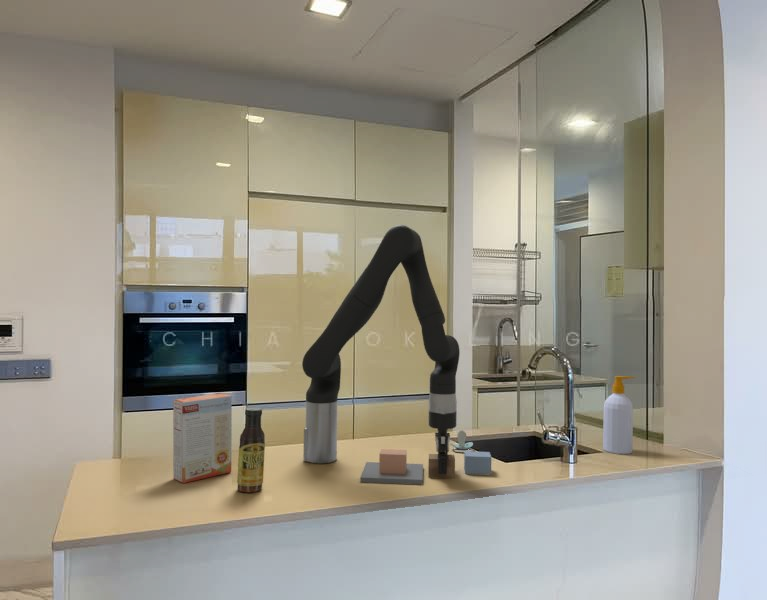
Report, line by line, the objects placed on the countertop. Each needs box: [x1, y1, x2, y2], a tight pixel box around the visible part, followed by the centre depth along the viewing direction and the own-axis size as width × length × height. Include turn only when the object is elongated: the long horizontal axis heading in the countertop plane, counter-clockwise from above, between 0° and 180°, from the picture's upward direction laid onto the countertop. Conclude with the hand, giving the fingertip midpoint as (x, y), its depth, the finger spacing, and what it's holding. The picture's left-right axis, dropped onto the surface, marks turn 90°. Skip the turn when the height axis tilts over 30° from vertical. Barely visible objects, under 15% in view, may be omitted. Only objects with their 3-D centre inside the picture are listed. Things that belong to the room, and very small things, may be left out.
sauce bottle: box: [236, 407, 266, 493], centre depth 138 cm, size 6×6×20 cm
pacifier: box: [449, 429, 475, 454], centre depth 177 cm, size 7×6×6 cm
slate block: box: [463, 451, 492, 476], centre depth 156 cm, size 7×5×5 cm
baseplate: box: [359, 448, 424, 485], centre depth 152 cm, size 16×14×6 cm
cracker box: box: [172, 393, 233, 484], centre depth 149 cm, size 14×6×21 cm, turn 134°
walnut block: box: [427, 453, 456, 479], centre depth 153 cm, size 7×5×5 cm
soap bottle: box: [602, 375, 636, 455], centre depth 180 cm, size 9×9×24 cm
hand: (442, 469), depth 153 cm, fingers open, 8 cm apart
